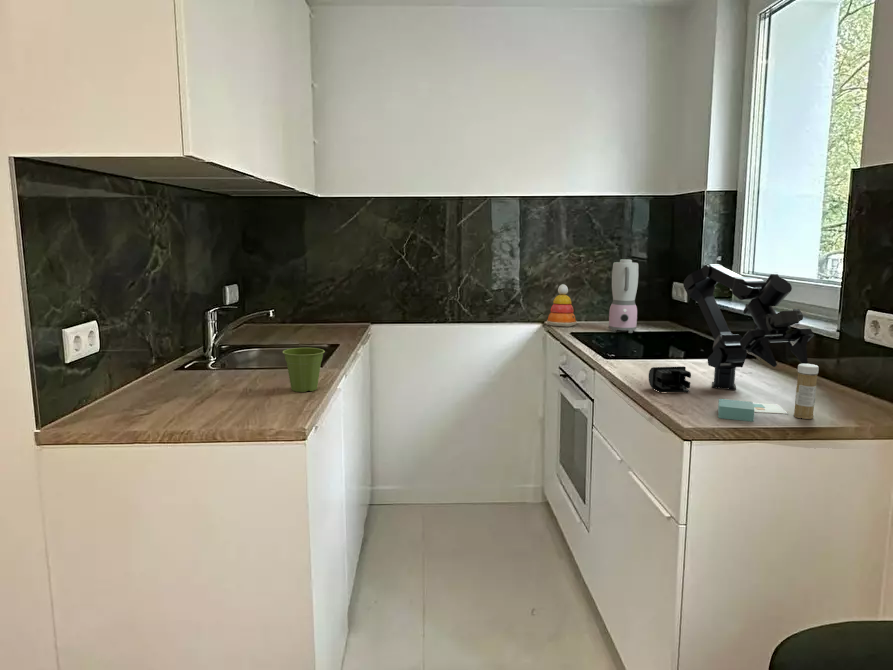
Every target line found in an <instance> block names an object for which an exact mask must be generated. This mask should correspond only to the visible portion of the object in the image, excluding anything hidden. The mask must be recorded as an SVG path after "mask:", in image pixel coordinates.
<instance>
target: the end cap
mask: <svg viewBox="0 0 893 670" xmlns="http://www.w3.org/2000/svg"><path fill="white" fill-rule="evenodd" d="M691 377H692V373H691V372H690V371H688V370H686V366H659V367H657V366H655V367H654V366H653V367H651V368H650V369H649V371H648V383H649V385H650V387H651V388H652V389H653V388H654V389H655V390H657V391H659V392H686V393H690V390H689V389H690V388H691V382H690V381H688V380H687V379H686V378H688V379H691ZM655 390H654V391H655ZM657 391H656V392H657ZM659 392H658V393H659Z"/></svg>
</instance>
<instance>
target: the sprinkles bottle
mask: <svg viewBox="0 0 893 670" xmlns="http://www.w3.org/2000/svg"><path fill="white" fill-rule="evenodd" d="M818 374H819V366H818V365H817V364H813V363H808V364H802V363H799V364H798V365H797V382H796V383H797V384H796V389H795V397H794V413H793V417H795V418H797V419H801V418H802V420H811V419H813V418H814V409H815V403H816V393H817V381H818Z"/></svg>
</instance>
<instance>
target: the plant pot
mask: <svg viewBox="0 0 893 670" xmlns="http://www.w3.org/2000/svg"><path fill="white" fill-rule="evenodd" d="M325 352H326V351H325V350H324V349H321V348H317V347H295V348H294V347H293V348H292V347H291V348H288V349H284V350H282V354H283V355H284V359H285V362H286V367H287V372H288V377H289V383H290V388H291V389H290V390H292V391H293V392H297V393H305V392H308V391H310V392H314V391H316V390H317V389H318V385H319V378H320V372H321V365H322V361H323V356H324V353H325Z"/></svg>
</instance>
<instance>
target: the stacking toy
mask: <svg viewBox="0 0 893 670" xmlns="http://www.w3.org/2000/svg"><path fill="white" fill-rule="evenodd" d="M557 292H558V295H556V296H555V297H554V299H553V302H552V303H553V304H552V305H551V308H550V312H549V314H548V316H547V317H548V318H547V320H546V323H547V324H548V325H550V326H551V327H555V326H556V327H567V328H569V327H573V326H575V325H577V324H578V321H577V319H576V315H575V314H574V311H575V310H574V306H573V305H572V299H571V297H570V296H568V295H567V294H568V293H569V288H568V286H567V285H566V284H564V283H562V284H560V285H559V286H558V289H557Z"/></svg>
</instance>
